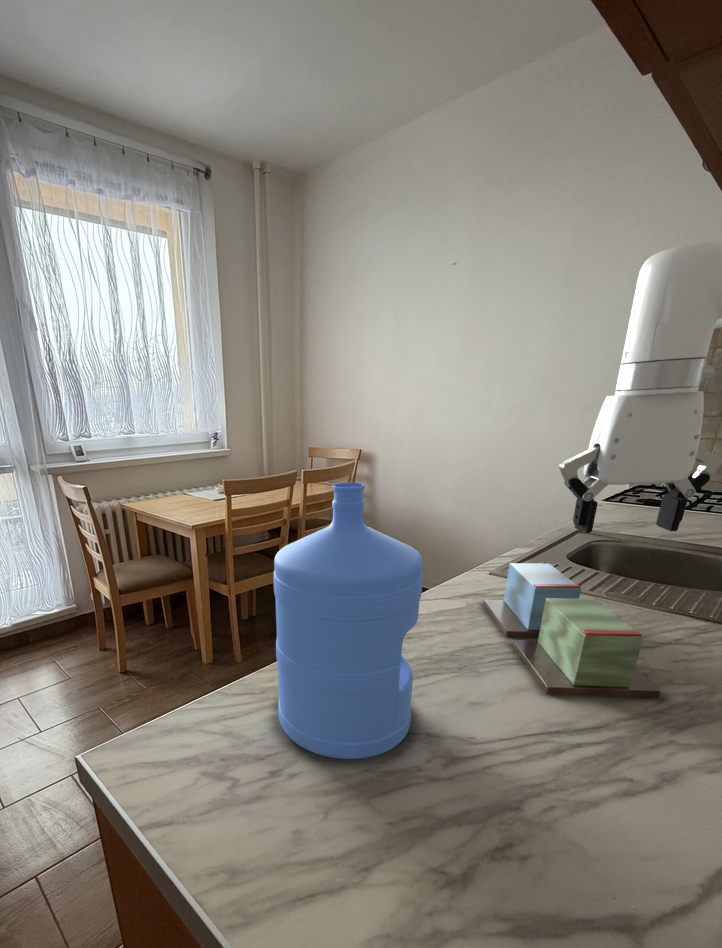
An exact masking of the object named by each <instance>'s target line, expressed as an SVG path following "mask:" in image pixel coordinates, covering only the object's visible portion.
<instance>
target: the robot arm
mask: <svg viewBox="0 0 722 948" xmlns="http://www.w3.org/2000/svg"><path fill="white" fill-rule="evenodd" d="M720 328H722V241H701V242H700V241H699V242H695V243H688V244H683V245H682V244H681V245H678V246H675V247H671V248H667V249H664V250H661V251H658V252H656V253H654V254H652V255H651V256H649V258H647V259H646V260H645V261H644V263H643V264H642V266H641V268H640V270H639V273H638V276H637V281H636V287H635V292H634V296H633V301H632V306H631V311H630V317H629V320H628V326H627V331H626V337H625V341H624V346H623V352H622V357H621V361H620V367H619V372H618V376H617V382H616V387H615V392H614V394H613V395H606V397H605V399H604V401H603V403H602V406H601V408H600V411H599V413H598V416H597V419H596V421H595V424H594V427H593V430H592V433H591V437H590V441H589V445H588V448H587V450H584V451H583V452H580V453H578V454H576V455H574V456H572V457H570V458H568V459H566V460H564V461H562V462H560V464H559V466H558V469H559V471H560V474H561V476H562V478H563V481H564V483H563V484H564V485H565V487H567V488H568V490H569V491H570V492H571V493H572V495H573V496H574V497H575V498H576V501H575V505H574V512H573V517H572V523H573V525H574V528H575V529H576V530H578V531H579V532H581V533H583V534H590V533H592V531H593V528H594V523H595V518H596V514H597V509H598V501H596V500H595V498H596V496H598V495H599V494H600V493H601V492H602V491H603V490H604V489H605V488H606V487H608V486H609V485H610V486H611V485H612V486H615V485H616V486H617V485H618V486H619V485H622V486H624V485H653V484H664V486H665V487H666V489H667V491H668V493H664V495H663V496H662V499H661V502H660V506H659V510H658V514H657V518H656V522H655V525H656V526H657V527H659V528H661V529H664V530H667V531H669V532H677V531H679V528H680V524H681V522H682V521H683V518H684V514H685V511H686V508H687V503H688V501H689V500H688V499H691V498H694V496H695V495H696V492H697V491H698V490H699V489H701V488H703V486H705V485H706V484H707V483H709V481H710V480H711V476H713V475H714V474H715V472H717V470H718V469H719V468H720V467H721V466H722V456H720V455H718V454H716V453H714V452H712V451H710V450H709V449H706V448H705V447H702V446H700V440H701V435H702V428H703V420H704V406H705V405H704V403H705V400H704V399H705V397H704V394H705V393H704V391H702V390H701V391H700V389H699V388H700V386H701V385H702V382H703V380H708V379H709V380H710V379H711V378H712V377H713V376H714V374H715V370H716V369H715V366H714V365H707V362H708V359H707V358H708V353H709V351H710V347H711V342H712V339H713V336H714V335H713V334H714V331H715V330H716V329H720ZM696 462H698V464H699V465H698V467H697V468H696V471H694V472H692V471H693V468H694V465H695V463H696ZM582 467H583V476H584V477H585V479H584V480H583V481H582V480H581V479H580V478H579V474H578V470H579V469H580V468H582Z"/></svg>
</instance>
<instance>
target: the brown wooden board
mask: <svg viewBox="0 0 722 948" xmlns="http://www.w3.org/2000/svg"><path fill="white" fill-rule="evenodd" d="M512 648H513V649H514V650H515V652H516V654H517V655H518V656H519V658H520V659H521V660H522V662H523V663H524V665H525V666H526V668H527V669H528V670H529V672H530V673H531V674H532V676H533V677H534V679H535V680H536V682H537V683H538V684H539V686H540V687H541V689H542V690H543V692H544V693H545V694H546V695H564V696H565V695H566V696H567V695H568V696H569V695H570V696H595V697H622V698H647V699H648V698H649V699H651V698H654V699H659V697H660V694H661V690H660V689H659V688H658V687H657V686H656V685H654V684H653V682H651V681H650V680H649V679H648V678H647V677H646V676H645V675H644V674H643V673H641V672H640V671H639V670H638V669H637V668H635V670H634V674H633V677H632V681H631V684H630V687H605V686H575V685H573V684H572V683H571V681H570V680H569V679H568V678H567V677H566V675H565V674H564V673H563V672H562V671H561V669H560V668H559V667H558V666H557V665H556V663H555V662H554V661H553V660H552V658H551V657H550V656H549V655H548V654H547V652H546V651H545V650H544V649H543V648H542V646H541V645H540V644H539V643H538V640H530V639H529V640H526V639H523V640H522V639H513V640H512Z"/></svg>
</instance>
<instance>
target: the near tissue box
mask: <svg viewBox="0 0 722 948" xmlns="http://www.w3.org/2000/svg"><path fill="white" fill-rule="evenodd" d="M537 641H538V643H539V644H540V645H541V646H542V648H543V649H544V650H545V651H546V652H547V654H548V655H549V656H550V657H551V658H552V660H553V661H554V662H555V663H556V665H557V666H558V667H559V668H560V669H561V671H562V672H563V673H564V674H565V675H566V677H567V678H568V679H569V680H570V681H571V683H572V684H573V685H575V686H605V687H630V684H631V681H632V677H633V674H634V670H635V669H636V666H637V662H638V660H639V655H640V652H641V649H642V645H643V642H644V636H643V634H642V633H641V632H640V631H638V630H636V629H634V627H632V626H631V625H630V624H628V623H626V622H625V621H624V620H623V619H622V618H620V617H619V616H617V615H616V614H615V613H614V612H612V610H610V609H609V608H607V606H605V605H603V604H602V603H601V602H599V600H597V599H595V598H579V599H569V598H546V601H545V606H544V611H543V616H542V622H541V627H540V632H539V637H537Z"/></svg>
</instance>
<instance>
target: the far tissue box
mask: <svg viewBox="0 0 722 948" xmlns="http://www.w3.org/2000/svg"><path fill="white" fill-rule="evenodd" d="M505 583H506V584H505V590H504V596H503V600H504V601H505V603H506V604H507V605H508V606H509V608H510V609H511V610H512V611H513V612H514V614H515V615H516V616H517V617H518V618H519V620H520V621H521V622H522V623H523V625H524V626H525V627H526V628H527V629H528V630H540V627H541V622H542V616H543V611H544V606H545V601H546V598H569V599H580V596H581V593H582V587H581V586H580V585H579V584H577V583H575V582H574V581H573V580H571V579H570V578H569V577H567V576H566V575H565V574H563V573H562V572H561V571H560V570H558V569H557V568H556V567H554V566H553V565H552V564H551V563H547V562H546V563H545V562H544V563H543V562H542V563H535V562H534V563H532V562H530V563H529V562H528V563H526V562H525V563H524V562H521V563H517V562H514V563H512V562H510V563H508V571H507V577H506V582H505Z"/></svg>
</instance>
